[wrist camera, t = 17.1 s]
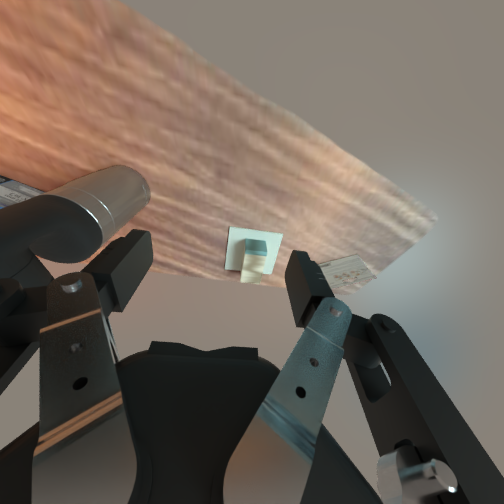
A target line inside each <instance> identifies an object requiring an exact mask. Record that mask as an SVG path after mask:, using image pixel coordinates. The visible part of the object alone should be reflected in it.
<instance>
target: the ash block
mask: <svg viewBox="0 0 504 504" xmlns="http://www.w3.org/2000/svg"><path fill="white" fill-rule="evenodd" d="M266 256H267V246H266V241H264V240H256V239H247V238H246V240H245V246H244V252H243V258H242V264H241V275H240V282H243V283H254V284H260V281H261V277H262V273H263V269H264V265H265V261H266Z"/></svg>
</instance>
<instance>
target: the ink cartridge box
mask: <svg viewBox="0 0 504 504" xmlns="http://www.w3.org/2000/svg"><path fill="white" fill-rule="evenodd" d="M318 265H319V266H320V268H321V270H322V272H323V275H324V276H325V278H326V280H327V282H328V284H329V286H330V288H331V289H335V288H339V287H343V286H347V285H351V284H355V283H360V282H364V281H368V280H372V279H376V278H377V277H376V276H375V275H374V274H373V273H372V272H371V271H370V270H369V269H368V268H367V265H366V264H365V263H364V262H363V260H362V259H361V258H360V256H359V255H358V254H356V255H353V256H349V257H345V258H341V259H337V260H333V261H329V262H325V263H322V264H318ZM352 278H357V279H356V280H354V281H353V282H343V281H344V280H348V279H352Z"/></svg>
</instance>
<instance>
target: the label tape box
mask: <svg viewBox="0 0 504 504" xmlns="http://www.w3.org/2000/svg"><path fill="white" fill-rule="evenodd" d="M43 193H46V192H43V191H40V190H38V189H35V188H33V187H30V186H27V185H25V184H22V183H19V182H17V181H14V180H12V179H9V178H7V177H4V176H1V175H0V209H1V208H4V207H7V206H10V205H13V204H16V203H19V202H22V201H25V200H28V199H30V198H33V197H35V196H38V195H41V194H43Z"/></svg>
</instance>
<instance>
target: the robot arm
mask: <svg viewBox="0 0 504 504" xmlns="http://www.w3.org/2000/svg"><path fill="white" fill-rule="evenodd" d="M149 199H150V190H149V187H148V184H147V182H146V181H145V179H144V178H143V177H142V176H141V175H140V174H139V173H138V172H136V171H135V170H133V169H131V168H129V167H126V166H121V165H116V166H112V167H109V168H107V169H104V170H99V171H96V172H93V173H91V174H88V175H86V176H83V177H80V178H78V179H75V180H73V181H70V182H67V183H66V184H65V185H63V186H61V187H58V188H56V189H53V190H51V191H48V192H46V193H43V194H41V195H38V196H35V197H33V198H30V199H28V200H25V201H22V202H19V203H16V204H13V205H10V206H7V207H4V208H1V209H0V395H1V394H2V393H3V391H4V390H5V389H6V388H7V387H8V385H9V384H10V383H11V382H12V380H13V379H14V378H15V377H16V375H17V374H18V373H19V372H20V370H21V369H22V368H23V367H24V365H25V364H26V363H27V362H28V361H29V359H30V358H31V357H32V356H33V354H34V353H35V352H36V351H37V349H38V348H39V347H40V357H39V358H40V359H39V360H40V361H39V362H40V364H39V367H40V369H39V371H40V372H39V373H40V374H39V375H40V376H39V377H40V378H39V379H40V380H39V381H40V382H39V384H40V386H39V388H40V390H39V392H40V394H39V395H40V396H39V402H40V404H39V407H40V408H39V411H40V412H39V417H40V418H39V422H37V423H36V424H35V425H33V426H32V427H31V428H29V429H28V430H27V431H25V432H24V433H23V434H21V435H20V436H19V437H17V438H16V439H15V440H13V441H12V442H11V443H9V444H8V445H7V446H5V447H4V448H3V449H2V450H0V504H504V478H503V476H502V475H501V473H500V472H499V470H498V469H497V467H496V466H495V464H494V463H493V461H492V460H491V459H490V457H489V455H488V454H487V453H486V451H485V450H484V448H483V447H482V445H481V444H480V442H479V441H478V439H477V438H476V436H475V435H474V434H473V432H472V430H471V429H470V427H469V426H468V424H467V423H466V422H465V420H464V419H463V417H462V416H461V414H460V413H459V411H458V410H457V408H456V407H455V406H454V404H453V402H452V401H451V399H450V398H449V396H448V395H447V394H446V392H445V390H444V389H443V388H442V386H441V385H440V383H439V382H438V380H437V379H436V377H435V376H434V374H433V373H432V371H431V370H430V368H429V367H428V365H427V364H426V362H425V361H424V359H423V358H422V357H421V355H420V354H419V352H418V351H417V349H416V348H415V346H414V345H413V343H412V342H411V340H410V339H409V337H408V336H407V335H406V333H405V332H404V330H403V329H402V327H401V326H400V325H399V324H398V323H397V322H396V321H394V320H393V319H392V318H390V317H388V316H386V315H383V314H374V315H372V317H371V318H370V319H366V318H363V317H360V316H357V315H355V314H352V312H351V310H350V308H349V307H348V306H347V305H346V304H345V303H344V302H343V301H341V300H339V299H337V298H335V296H334V294H333V292H332V290H331V288H330V286H329V284H328V282H327V280H326V278H325V276H324V275H323V272H322V270H321V268H320V266H319V265H318V264H317V263H316V262H315V261H311V260H310V258H309V256H308V253H307V252H305V251H297V250H293V251H292V253H291V256H290V259H289V262H288V265H287V268H286V271H285V282H286V287H287V291H288V295H289V299H290V303H291V307H292V311H293V316H294V320H295V323H296V327H302V328H304V332H303V333H302V335H301V337H300V339H299V340H298V342H297V344H296V346H295V347H294V349H293V351H292V353H291V354H290V356H289V358H288V359H287V361H286V363H285V365H284V366H283V368H282V370H281V371H280V370H279V369H278V368H277V367H276V366H275V365H274V364H272V363H271V362H269V361H268V360H266V359H264V358H261V357H259V356H258V348H249V347H227V348H222V349H217V350H211V351H202V350H199V349H196V348H193V347H190V346H187V345H184V344H181V343H173V342H158V341H152V342H151V345H150V347H149V350H145V351H142V352H138V353H135V354H133V355H130V356H128V357H126V358H124V359H122V360H120V358H119V354H118V351H117V347H116V343H115V340H114V336H113V333H112V329H111V326H110V322H109V319H108V316H109V315H110V313H111V312H123V310H124V308H125V307H126V305H127V304H128V302H129V300H130V299H131V297H132V295H133V294H134V292H135V291H136V289H137V287H138V286H139V284H140V283H141V281H142V279H143V278H144V276H145V275H146V273H147V271H148V270H149V268H150V266H151V265H152V262H153V249H152V241H151V234H150V232H149V231H144V230H137V229H133V230H131V231H130V232H129V233H128V234H127V235H126V236H125V237H120V238H118V239H116V240H114V241H112V242H111V243H110V244H109V245H108V246H107V247H106V248H105V249H103V250H102V251H101V252H100V254H98V255H97V256H96V257H95V258H94V259H93V260H92V261H91V262H90V263H89V264H88V265H87V266H86V267H85V268H84V269H83V270H81V271H80V272H73V273H68V274H65V275H62V276H60V277H58V278H56V279H54V278H53V276H52V275H51V274H50V272H49V271H48V270H47V269H46V268H45V266H44V265H43V264H42V263H41V262H40V260H39V259H38V258H37V257H36V256H35V255H37V256H39V257H41V258H44V259H47V260H50V261H54V262H58V263H78V262H81V261H84V260H86V259H87V258H89V257H90V256H91V255H93V254H94V253H95V252H96V251H97V250H98V249H99V248H100V247H101V246H103V245H104V244H105V243H106V242H107V241H108V240H109V239H110V238H111V237H112V236H113V235H114V234H115V233H116V232H118V231H119V230H120V229H121V228H122V227H123V226H124V225H125V224H126V223H127V222H128V221H130V220H131V219H132V218H133V217H134V216H135V215H136V214H137V213H138V212H139V211H140V210H141V209H143V208H144V207H145V206H146V205H147V204H148V202H149ZM342 358H343V359H346V362H347V365H348V368H349V371H350V373H351V376H352V379H353V382H354V385H355V388H356V390H357V393H358V396H359V399H360V402H361V404H362V407H363V410H364V413H365V416H366V418H367V421H368V424H369V427H370V430H371V433H372V435H373V438H374V441H375V444H376V447H377V450H378V452H379V455H380V459H379V460H378V463H377V476H378V481H377V487H378V490H379V493H380V495H381V499H380V497H379V496H378V495H377V493H376V492H375V491H374V489H373V488H372V487H371V485H370V484H369V483H368V482H367V481H366V479H365V478H364V477H363V475H362V474H361V473H360V471H359V470H358V469H357V467H356V466H355V465H354V464H353V462H352V461H351V460H350V458H349V457H348V456H347V455H346V453H345V452H344V451H343V449H342V448H341V447H340V446H339V444H338V443H337V442H336V440H335V439H334V438H333V437H332V435H331V434H330V433H329V431H328V430H327V429H326V428H325V426H324V425H323V424H322V420H323V417H324V414H325V411H326V407H327V404H328V401H329V398H330V395H331V392H332V389H333V386H334V383H335V379H336V376H337V373H338V370H339V367H340V364H341V360H342ZM381 362H382V363H383V365H384V367H385V369H386V371H387V373H388V375H389V377H390V380H391V386H390V383H389V382H388V380H387V377H386V375H385V374H384V371H383V369H382V367H381V365H380V363H381Z"/></svg>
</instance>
